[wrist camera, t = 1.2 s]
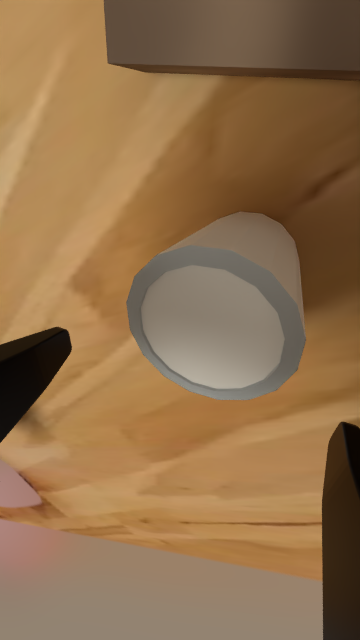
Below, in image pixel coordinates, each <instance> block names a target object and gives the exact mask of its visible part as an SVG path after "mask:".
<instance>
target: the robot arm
mask: <svg viewBox="0 0 360 640" xmlns="http://www.w3.org/2000/svg"><path fill="white" fill-rule="evenodd" d="M71 350H72V346H71V341H70V336H69V332H68V331H67V330H66V329H63V328H60V327H54V328H51V329H48V330H45V331H41V332H38V333H35V334H32V335H29V336H26V337H23V338H20V339H17V340H13V341H10V342H7V343H4V344H1V345H0V443H1V442H2V440H3V439H4V438H5V437H6V436H7V434H8V433H9V432H10V431H11V430H12V429H13V427H14V426H15V425H16V424H17V423H18V421H19V420H20V419H21V418H22V417H23V415H24V414H25V413H26V412H27V411H28V409H29V408H30V407H31V406H32V405H33V404H34V402H35V401H36V400H37V399H38V398H39V396H40V395H41V394H42V393H43V392H44V390H45V389H46V388H47V386H48V385H49V384H50V382H51V381H52V379H53V378H54V376H55V375H56V374H57V372H58V371H59V369H60V368H61V366H62V365H63V363H64V362H65V360H66V359H67V357H68V356H69V355H70V353H71ZM322 561H323V640H360V428H359V427H358V426H356V425H353V424H350V423H347V422H340V423H339V425H338V426H337V428H336V430H335V431H334V433H333V435H332V436H331V438H330V441H329V444H328V452H327V461H326V469H325V478H324V487H323V497H322Z"/></svg>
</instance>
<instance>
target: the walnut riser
mask: <svg viewBox="0 0 360 640" xmlns="http://www.w3.org/2000/svg"><path fill="white" fill-rule="evenodd" d="M104 12H105V27H106V43H107V58H108V63H109V64H113V65H117V66H121V67H125V68H130V69H134V70H138V71H142V72H153V73H179V74H205V75H231V76H258V77H284V78H310V79H337V80H360V0H104Z"/></svg>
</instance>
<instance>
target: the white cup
mask: <svg viewBox="0 0 360 640" xmlns="http://www.w3.org/2000/svg"><path fill="white" fill-rule="evenodd" d="M126 303H127V310H128V318H129V325H130V330H131V332H132V334H133V336H134V338H135V340H136V342H137V344H138V346H139V348H140V349H141V351H142V353H143V355H144V356H145V357H146V358H147V359H148V360H149V361H150V362H151V363H152V364H153V365H154V366H155V367H156V368H157V369H158V370H159V371H160V372H161V373H162V374H163V375H164V376H165V377H167V378H168V379H170V380H172V381H173V382H175V383H177V384H178V385H180V386H182V387H183V388H185V389H187V390H188V391H190V392H194V393H197V394H201V395H204V396H208V397H211V398H214V399H218V400H250V399H253V398H256V397H258V396H261V395H264V394H267V393H270V392H273V391H276V390H277V389H278V388H279V387H280V386H281V385H282V384H283V383H284V382H285V381H286V380H287V379H288V378H289V377H291V376H292V375H293V374H294V373H295V372H296V371H297V369H298V366H299V362H300V359H301V355H302V352H303V348H304V345H305V341H306V335H305V322H304V310H303V298H302V286H301V274H300V262H299V257H298V253H297V248H296V244H295V241H294V239H293V238H292V237H291V236H290V234H289V233H288V232H287V230H286V229H285V228H284V227H283V225H282V224H280V223H279V222H277V221H275V220H273V219H271V218H269V217H267V216H266V215H264V214H262V213H250V212H237V213H234V214H231V215H228V216H225V217H222V218H219V219H218V220H216V221H214V222H212V223H211V224H209V225H207V226H206V227H204V228H202V229H200V230H199V231H197V232H195V233H194V234H192V235H190V236H188V237H187V238H185V239H183V240H181V241H180V242H178V243H176V244H175V245H173V246H171V247H169V248H168V249H166V250H164V251H163V252H161V253H159V254H157V255H156V256H155V257H154V258H153V259H152V260H151V261H150V262H149V263H148V264H147V265H146V266H145V267H144V268H143V269H142V270H140V271H139V272H138V273H137V274H136V275H135V277H134V280H133V283H132V286H131V289H130V293H129V296H128V299H127V302H126Z"/></svg>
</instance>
